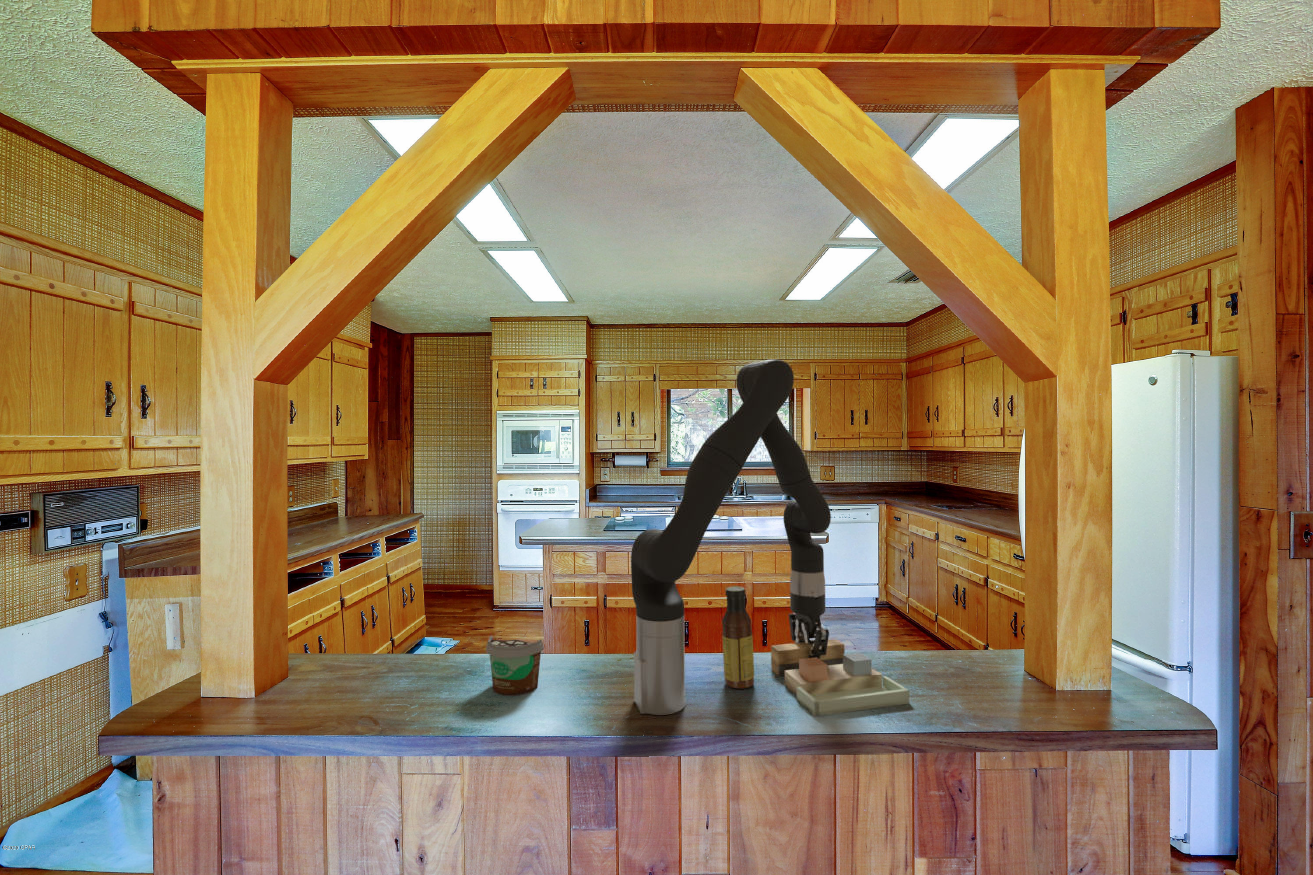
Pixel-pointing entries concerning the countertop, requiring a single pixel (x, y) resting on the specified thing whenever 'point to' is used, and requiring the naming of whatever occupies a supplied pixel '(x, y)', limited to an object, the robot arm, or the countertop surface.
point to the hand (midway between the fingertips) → (808, 667)
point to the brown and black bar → (803, 655)
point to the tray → (854, 698)
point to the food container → (514, 665)
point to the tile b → (857, 664)
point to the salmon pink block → (813, 669)
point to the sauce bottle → (737, 641)
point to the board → (832, 681)
